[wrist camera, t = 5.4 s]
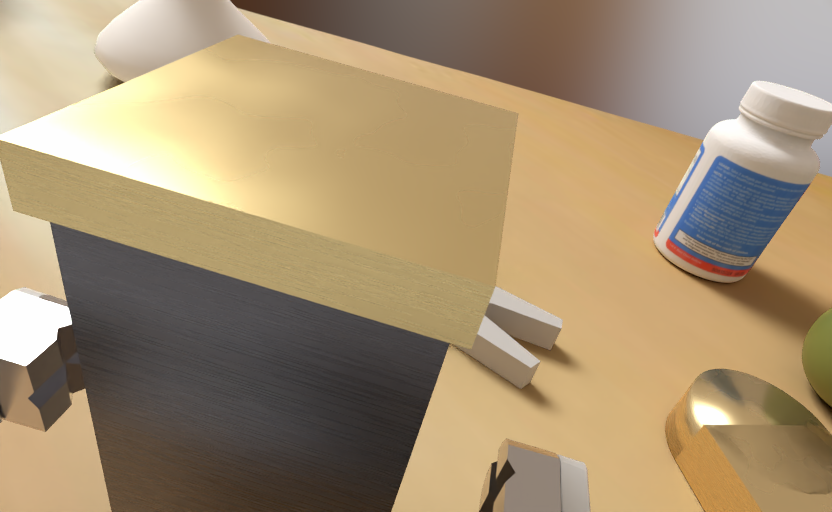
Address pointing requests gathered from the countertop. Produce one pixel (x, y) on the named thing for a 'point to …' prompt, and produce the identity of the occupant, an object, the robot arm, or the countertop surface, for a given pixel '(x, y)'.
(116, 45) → the flower in vase
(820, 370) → the pear
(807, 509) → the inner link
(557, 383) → the countertop surface
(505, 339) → the pliers
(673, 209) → the pill bottle
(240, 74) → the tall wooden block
